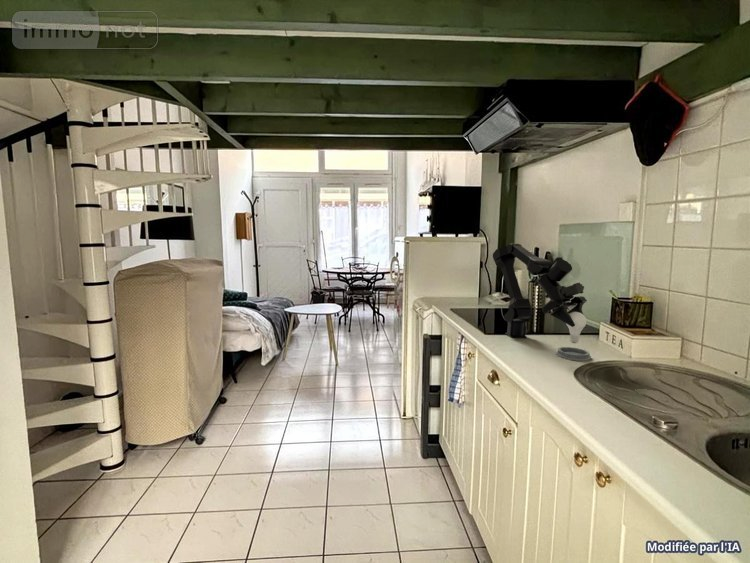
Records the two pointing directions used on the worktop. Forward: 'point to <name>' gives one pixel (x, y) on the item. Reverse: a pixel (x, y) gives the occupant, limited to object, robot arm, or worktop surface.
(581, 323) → the lightbulb
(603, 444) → the worktop surface
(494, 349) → the worktop surface
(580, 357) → the bulb dish
